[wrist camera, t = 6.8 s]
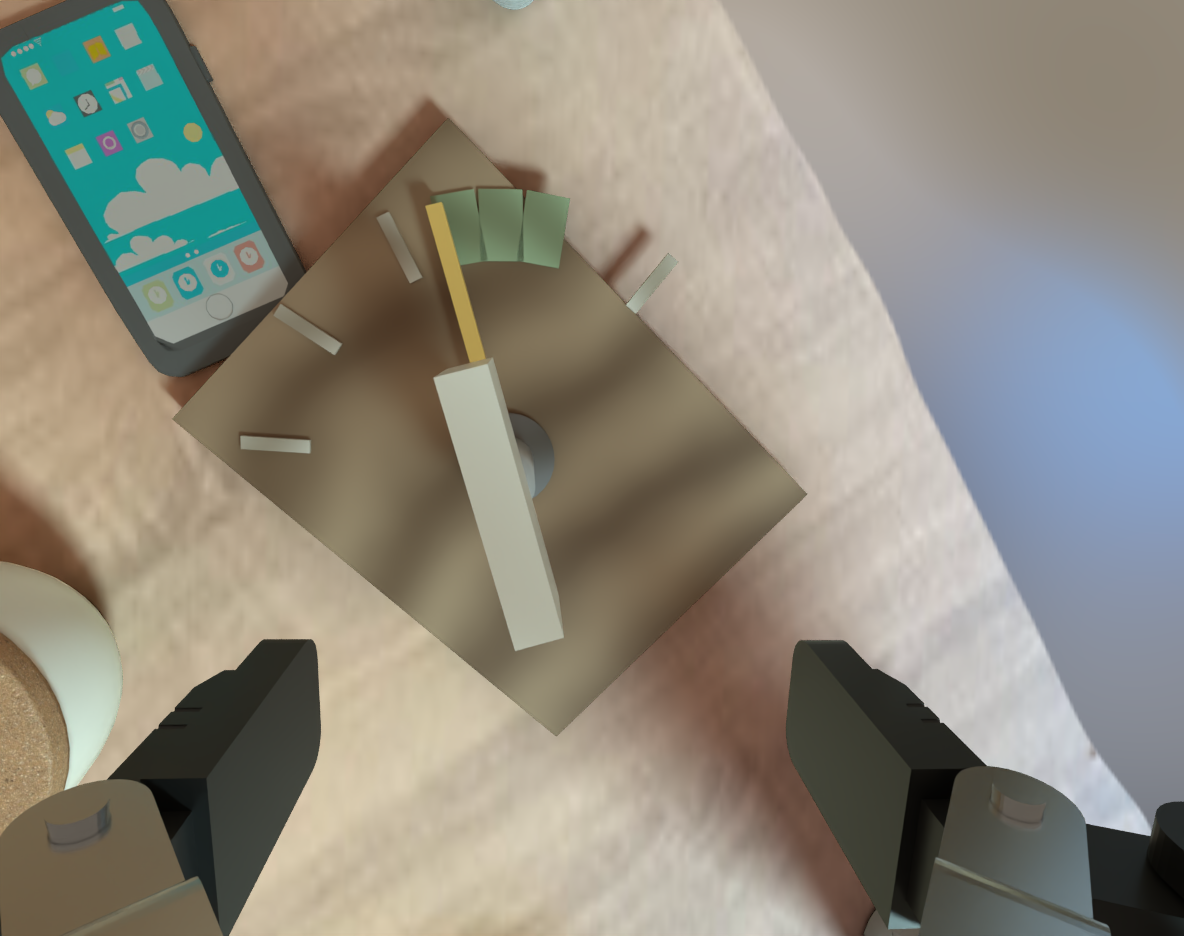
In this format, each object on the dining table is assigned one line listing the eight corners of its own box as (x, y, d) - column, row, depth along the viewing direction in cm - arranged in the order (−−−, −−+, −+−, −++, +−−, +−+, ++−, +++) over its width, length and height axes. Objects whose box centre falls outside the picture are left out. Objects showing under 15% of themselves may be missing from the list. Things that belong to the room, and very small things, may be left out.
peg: (559, 553, 33) (572, 635, 25) (510, 566, 33) (506, 653, 25) (462, 199, 29) (438, 151, 21) (408, 213, 29) (360, 170, 21)
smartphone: (155, 387, 31) (-48, 46, 28) (165, 385, 32) (-29, 55, 29) (328, 311, 31) (149, -39, 28) (333, 311, 32) (160, -27, 29)
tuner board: (837, 446, 36) (854, 453, 34) (555, 720, 38) (556, 740, 36) (498, 76, 31) (496, 62, 29) (187, 414, 32) (168, 420, 31)
